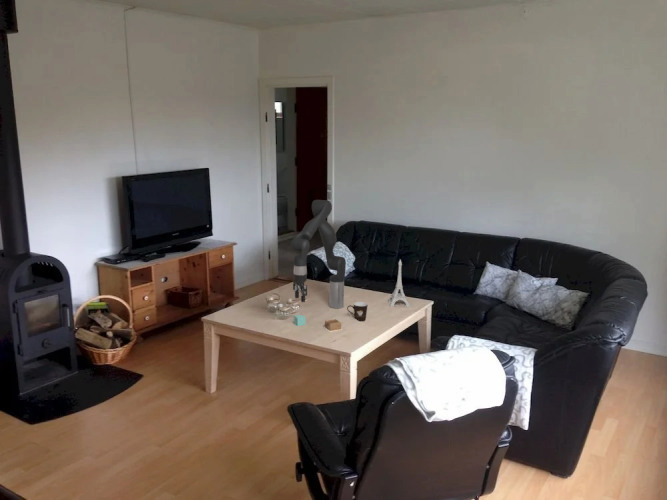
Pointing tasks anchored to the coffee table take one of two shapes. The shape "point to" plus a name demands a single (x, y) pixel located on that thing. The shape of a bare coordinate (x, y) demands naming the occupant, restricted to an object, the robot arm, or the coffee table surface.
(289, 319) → the coffee table surface
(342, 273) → the robot arm
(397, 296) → the eiffel tower
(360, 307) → the coffee mug
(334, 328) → the walnut block
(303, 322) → the teal block
